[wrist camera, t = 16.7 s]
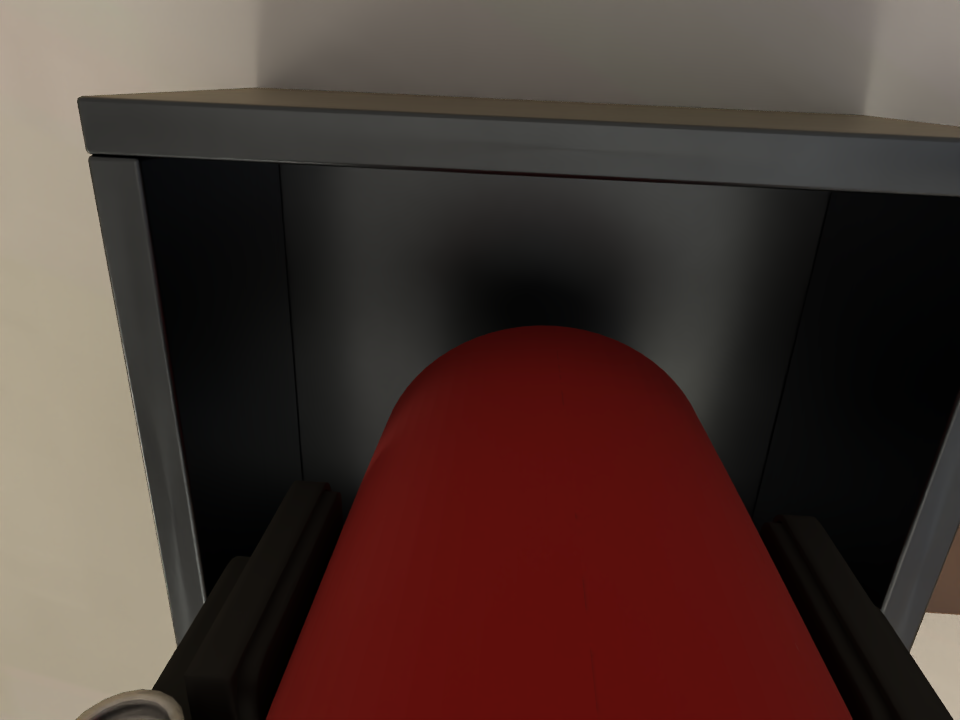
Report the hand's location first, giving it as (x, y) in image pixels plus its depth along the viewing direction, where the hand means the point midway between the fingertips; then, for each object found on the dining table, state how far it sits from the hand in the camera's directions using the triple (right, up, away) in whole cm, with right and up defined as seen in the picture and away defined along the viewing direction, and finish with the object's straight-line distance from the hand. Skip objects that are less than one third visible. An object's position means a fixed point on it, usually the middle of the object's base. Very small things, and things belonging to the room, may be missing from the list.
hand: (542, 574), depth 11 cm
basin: (0, +3, +7) cm, 8 cm away
